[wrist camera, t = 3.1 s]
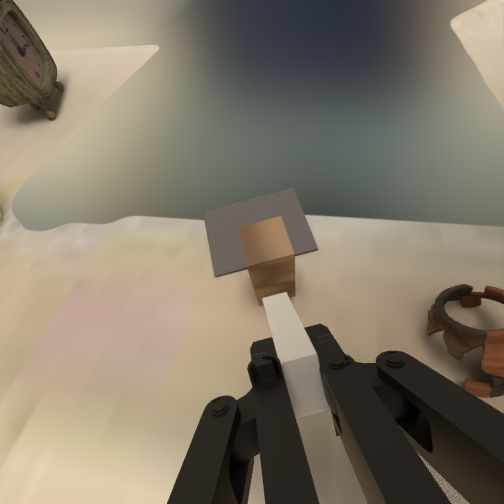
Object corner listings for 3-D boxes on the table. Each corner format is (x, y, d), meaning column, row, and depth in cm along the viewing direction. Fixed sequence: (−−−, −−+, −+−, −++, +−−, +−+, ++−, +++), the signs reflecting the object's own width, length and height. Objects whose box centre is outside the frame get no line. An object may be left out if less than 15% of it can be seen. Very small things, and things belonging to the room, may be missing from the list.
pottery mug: (431, 398, 30) (433, 342, 26) (419, 328, 38) (420, 276, 34) (594, 418, 26) (627, 353, 22) (544, 334, 33) (562, 273, 29)
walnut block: (285, 265, 39) (281, 215, 30) (295, 297, 37) (294, 253, 27) (251, 274, 39) (237, 227, 30) (260, 306, 37) (246, 266, 27)
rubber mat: (293, 189, 45) (293, 187, 45) (317, 249, 40) (317, 248, 39) (203, 213, 45) (203, 211, 45) (215, 277, 40) (214, 276, 39)
